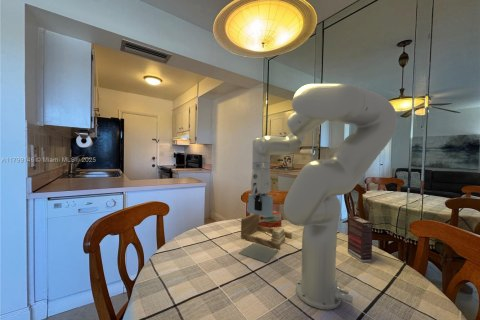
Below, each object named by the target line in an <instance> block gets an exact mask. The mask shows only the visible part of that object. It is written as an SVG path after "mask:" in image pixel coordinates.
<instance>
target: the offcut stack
mask: <svg viewBox="0 0 480 320" xmlns="http://www.w3.org/2000/svg"><path fill="white" fill-rule="evenodd" d="M274 229H275V230H273V234H271V238H270V241H274V242H278V243H280V245H281V244H283V242H285V240H286V237H285V235H284V231H285V228H282V227H275V228H274Z"/></svg>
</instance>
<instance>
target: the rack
mask: <svg viewBox="0 0 480 320" xmlns="http://www.w3.org/2000/svg"><path fill="white" fill-rule="evenodd" d="M240 226H241V227H240V239H241V240H244V239H245V240H244V241H248V242H251V243H254V242H255V243H254V244H258V245H261V246H265V247H268V248H271V249H275V250H278V251H279V250H281V244H280V243H278V242H274V241H271V239H267V238H263V237H258V236H255V235H252V234H255V233H256V232H259V231H260V232H262V233H266V232H267V233H266V234H271V235H272V234H273V230H275V229H276V228H267V227H263V226H259V215H258V214H252V213H250V214H249V215H247V216H244V217H242V218H241V219H240ZM258 230H259V231H258ZM255 231H256V232H255ZM250 234H251V235H250ZM292 234H293V233H291V232H288V231H285V230H284V235H285V239H292V238H293V235H292Z"/></svg>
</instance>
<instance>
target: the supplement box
mask: <svg viewBox="0 0 480 320" xmlns="http://www.w3.org/2000/svg"><path fill="white" fill-rule="evenodd" d="M347 221H348V222H347V223H348V224H347V227H348V228H347V233H348V234H347V253H348V254H349V255H350V256H353V258H355V259H357V260H358V261H360V262H361V263H368V262H372V261H373V259H372V258H373V222H372V221H369V220H367V219H364V218H361V217H359V216H348V219H347Z"/></svg>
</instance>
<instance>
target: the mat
mask: <svg viewBox="0 0 480 320" xmlns="http://www.w3.org/2000/svg"><path fill="white" fill-rule="evenodd" d="M278 253H279V250H278V249H275V248H271V247H268V246H265V245H261V244H258V243H254V242H251V244H250V245H248V246H247V247H245V248H243V249H242V250H241V251H239V252H238V254H239V255H241V256H244V257H246V258H247V257H248V258H250V259H253V260H255V261H259V262H263V263H264V264H267V263H268V262H270V261H271V260H272V259H273V258H274V257H275V256H276V254H278Z"/></svg>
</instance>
